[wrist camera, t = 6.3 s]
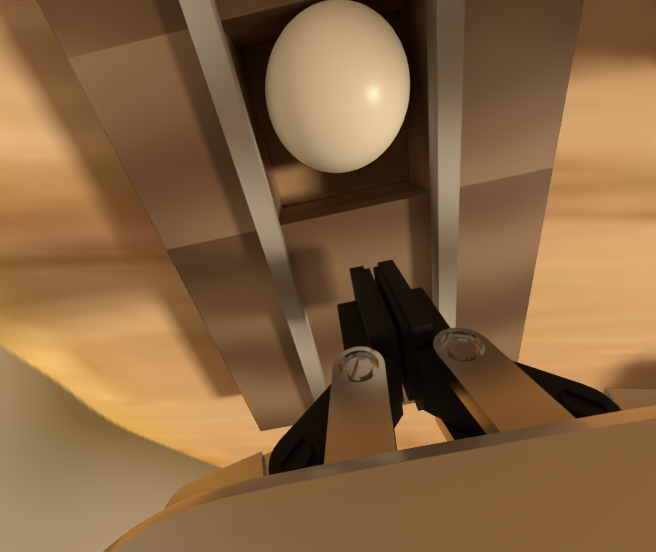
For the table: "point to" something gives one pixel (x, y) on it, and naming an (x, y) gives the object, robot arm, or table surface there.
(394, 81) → the ball
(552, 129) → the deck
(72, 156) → the table surface
